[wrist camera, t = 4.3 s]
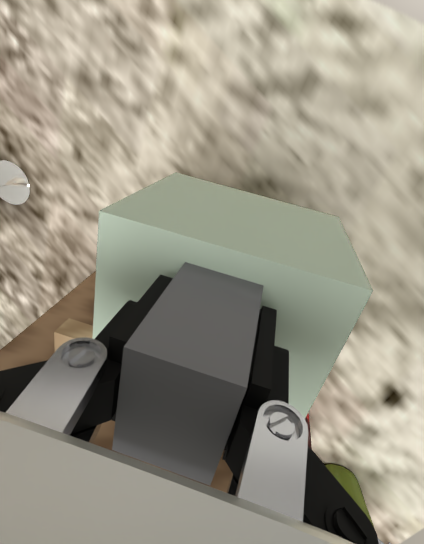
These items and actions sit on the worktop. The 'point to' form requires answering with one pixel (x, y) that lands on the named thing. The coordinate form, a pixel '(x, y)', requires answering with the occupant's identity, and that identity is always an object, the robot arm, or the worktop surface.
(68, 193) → the worktop surface
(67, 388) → the robot arm
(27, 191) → the wineglass
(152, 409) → the mint green box
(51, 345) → the wall board
